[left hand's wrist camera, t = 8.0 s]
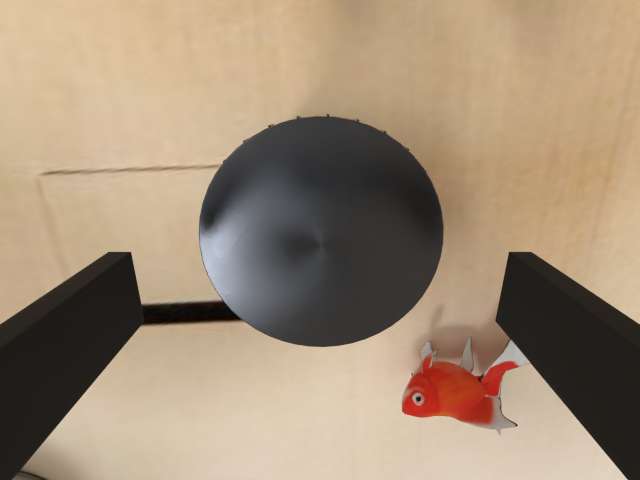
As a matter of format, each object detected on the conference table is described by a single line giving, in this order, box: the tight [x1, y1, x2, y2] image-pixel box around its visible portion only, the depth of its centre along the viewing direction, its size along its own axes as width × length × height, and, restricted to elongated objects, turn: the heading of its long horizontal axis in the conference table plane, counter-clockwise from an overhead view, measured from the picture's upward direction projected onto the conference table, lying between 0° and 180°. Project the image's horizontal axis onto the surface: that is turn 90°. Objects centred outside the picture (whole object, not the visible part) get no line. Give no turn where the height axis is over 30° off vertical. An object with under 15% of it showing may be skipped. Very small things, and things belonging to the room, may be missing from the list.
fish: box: [402, 337, 530, 435], centre depth 33 cm, size 11×16×10 cm
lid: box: [199, 114, 444, 347], centre depth 17 cm, size 11×11×2 cm
